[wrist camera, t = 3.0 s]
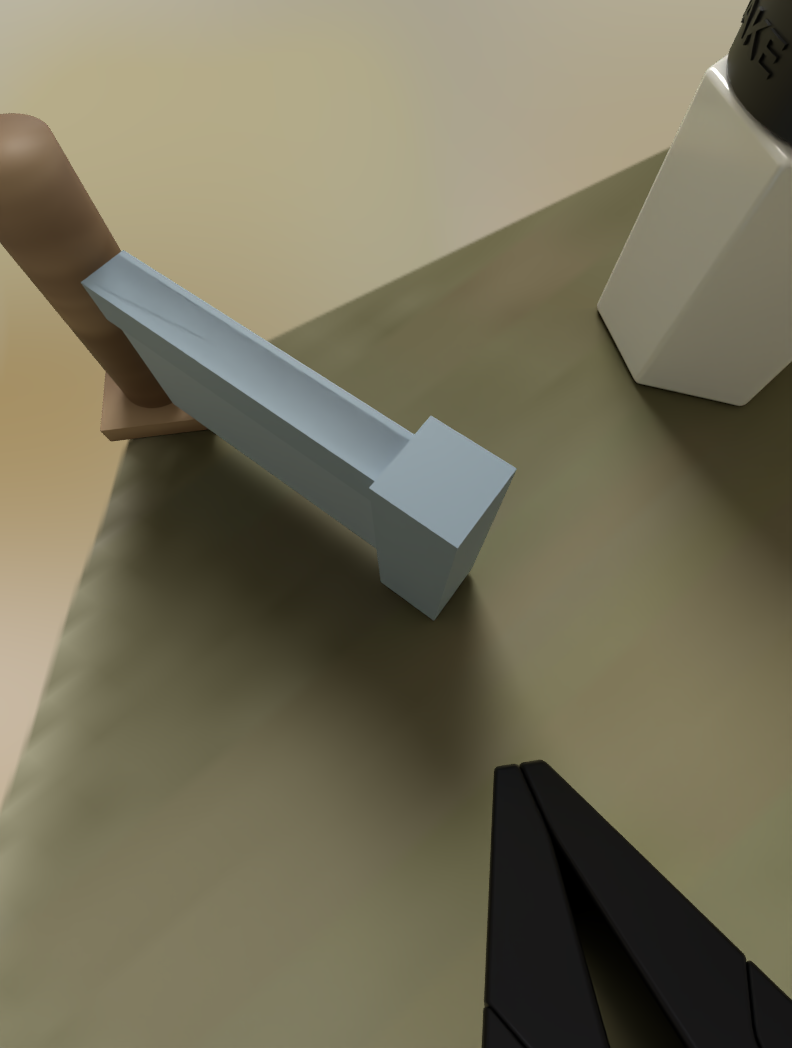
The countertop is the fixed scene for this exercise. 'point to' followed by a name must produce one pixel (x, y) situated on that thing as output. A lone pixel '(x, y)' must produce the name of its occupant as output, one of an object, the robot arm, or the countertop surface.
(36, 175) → the hinge post
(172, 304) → the gate
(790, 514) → the countertop surface
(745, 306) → the jar
